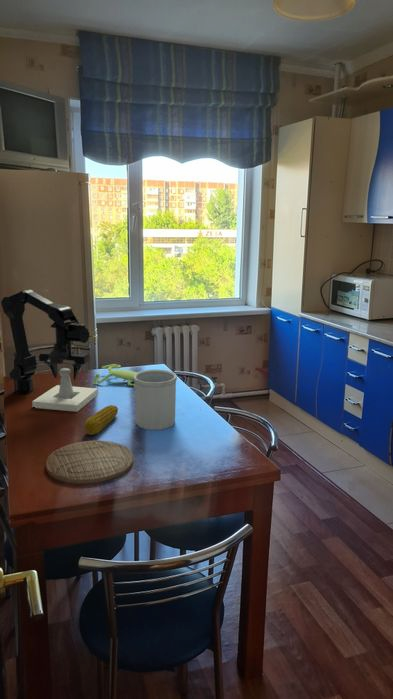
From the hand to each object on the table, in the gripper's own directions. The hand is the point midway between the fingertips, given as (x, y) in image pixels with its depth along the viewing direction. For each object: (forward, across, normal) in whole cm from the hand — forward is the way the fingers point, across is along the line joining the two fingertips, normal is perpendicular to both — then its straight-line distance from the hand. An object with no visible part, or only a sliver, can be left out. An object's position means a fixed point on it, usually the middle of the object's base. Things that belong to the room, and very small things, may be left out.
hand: (65, 378), depth 198 cm
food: (+9, +23, -20) cm, 32 cm away
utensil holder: (+9, +40, -13) cm, 43 cm away
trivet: (+10, +30, -47) cm, 57 cm away
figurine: (+10, +13, +29) cm, 33 cm away
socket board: (+9, 0, 0) cm, 9 cm away
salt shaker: (+9, 0, 0) cm, 9 cm away
